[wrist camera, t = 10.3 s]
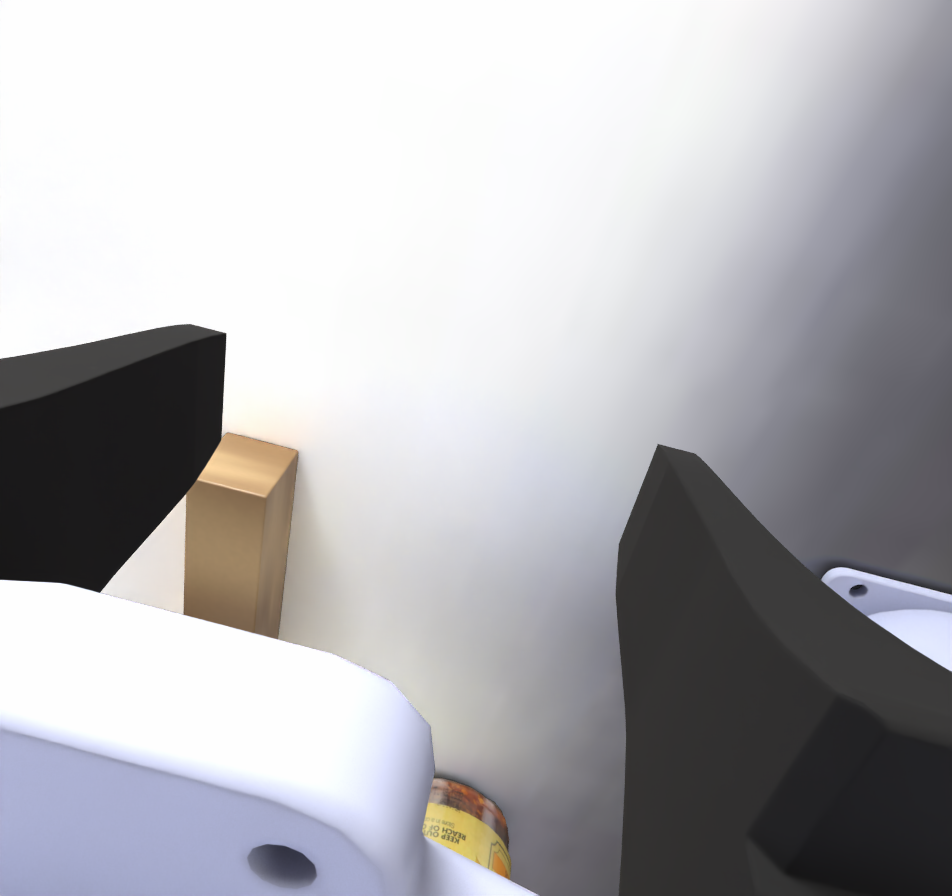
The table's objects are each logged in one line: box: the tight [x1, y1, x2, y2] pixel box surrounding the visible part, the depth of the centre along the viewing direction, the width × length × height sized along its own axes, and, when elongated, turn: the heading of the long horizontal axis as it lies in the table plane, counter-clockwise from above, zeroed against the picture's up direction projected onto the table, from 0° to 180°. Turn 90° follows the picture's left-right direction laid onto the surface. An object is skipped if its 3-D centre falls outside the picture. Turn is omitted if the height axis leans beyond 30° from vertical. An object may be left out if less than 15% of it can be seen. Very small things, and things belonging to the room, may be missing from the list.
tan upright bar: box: [184, 433, 298, 639], centre depth 28 cm, size 20×6×3 cm, turn 167°
